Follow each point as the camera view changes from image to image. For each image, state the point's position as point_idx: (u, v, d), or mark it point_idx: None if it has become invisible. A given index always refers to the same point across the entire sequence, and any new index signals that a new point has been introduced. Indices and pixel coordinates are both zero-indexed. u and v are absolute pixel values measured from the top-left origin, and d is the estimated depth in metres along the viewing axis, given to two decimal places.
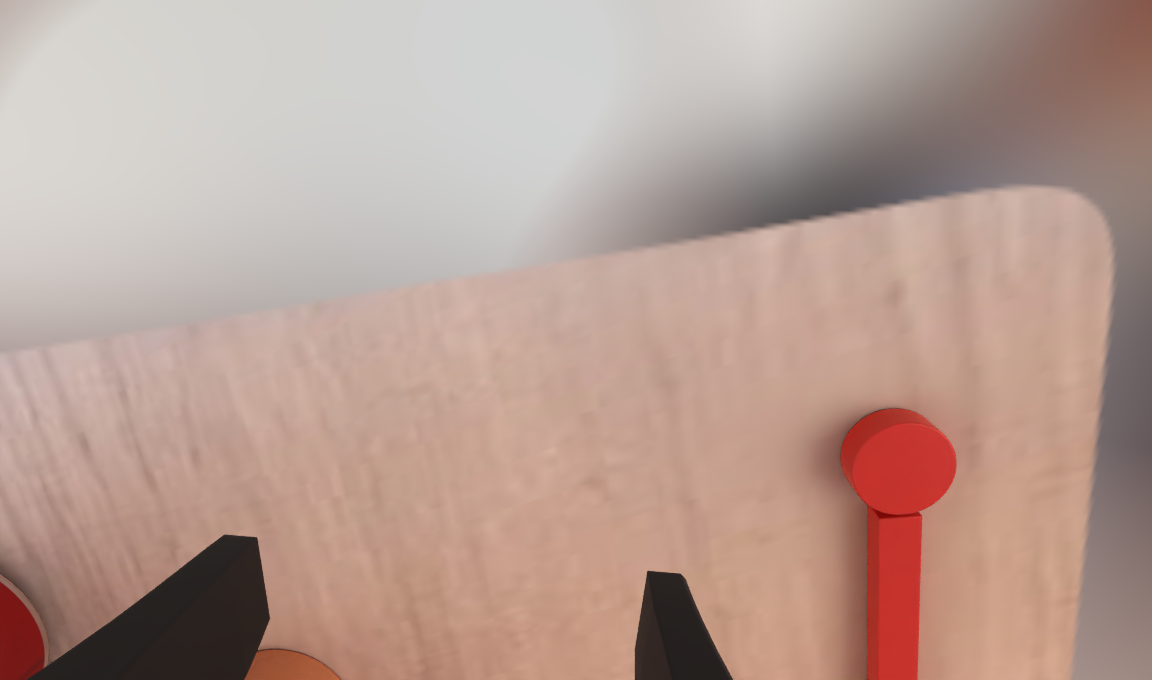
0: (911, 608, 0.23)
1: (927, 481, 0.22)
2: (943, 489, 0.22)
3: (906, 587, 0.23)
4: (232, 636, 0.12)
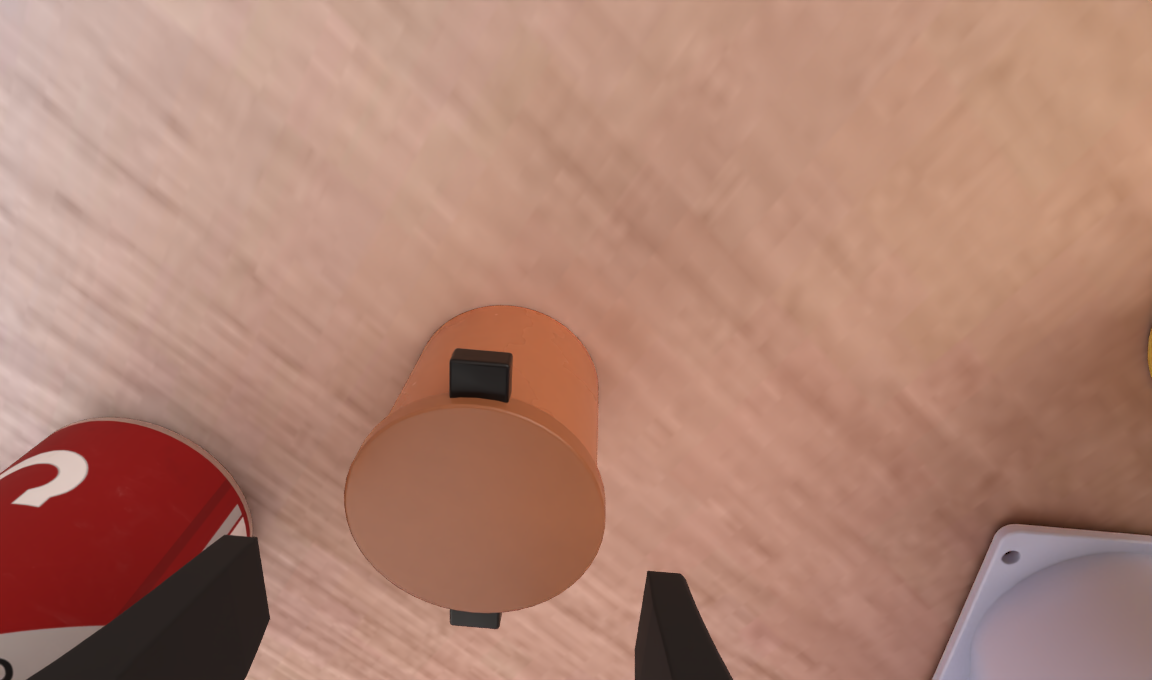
0: None
1: None
2: None
3: None
4: (231, 636, 0.12)
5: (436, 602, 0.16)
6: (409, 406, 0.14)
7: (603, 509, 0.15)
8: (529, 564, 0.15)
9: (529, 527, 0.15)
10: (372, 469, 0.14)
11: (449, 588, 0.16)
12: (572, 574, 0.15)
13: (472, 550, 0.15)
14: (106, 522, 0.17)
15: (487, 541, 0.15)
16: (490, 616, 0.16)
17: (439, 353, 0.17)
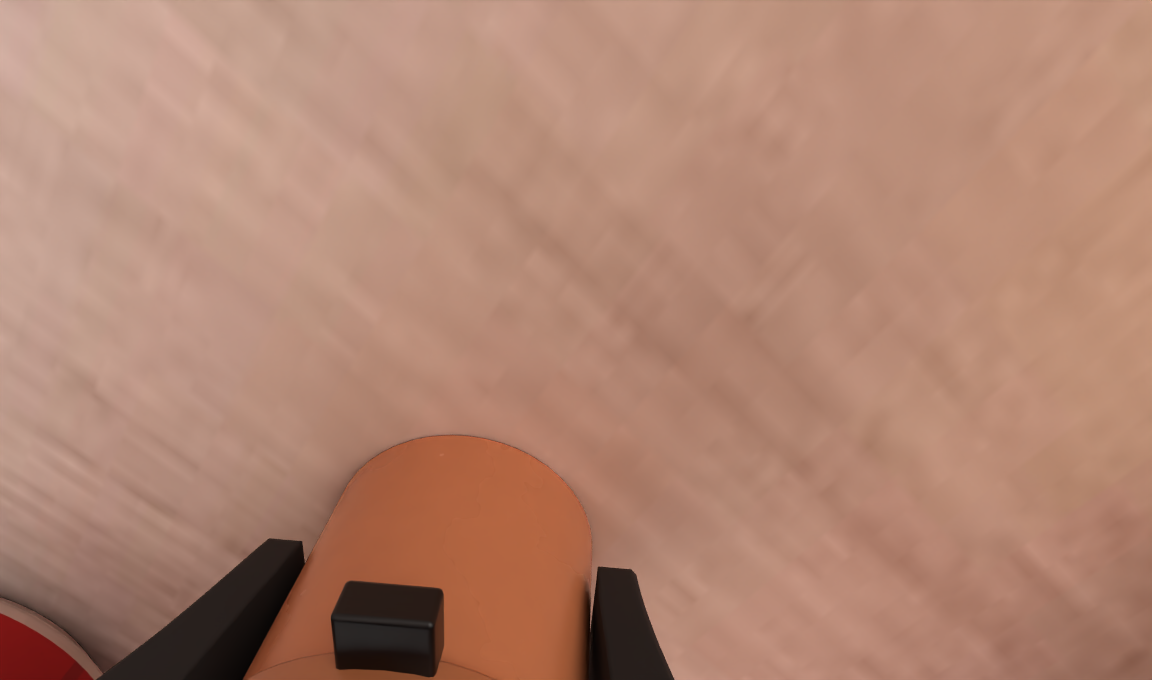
0: None
1: None
2: None
3: None
4: None
5: None
6: (270, 677, 0.08)
7: None
8: None
9: None
10: None
11: None
12: None
13: None
14: None
15: None
16: None
17: (349, 529, 0.11)
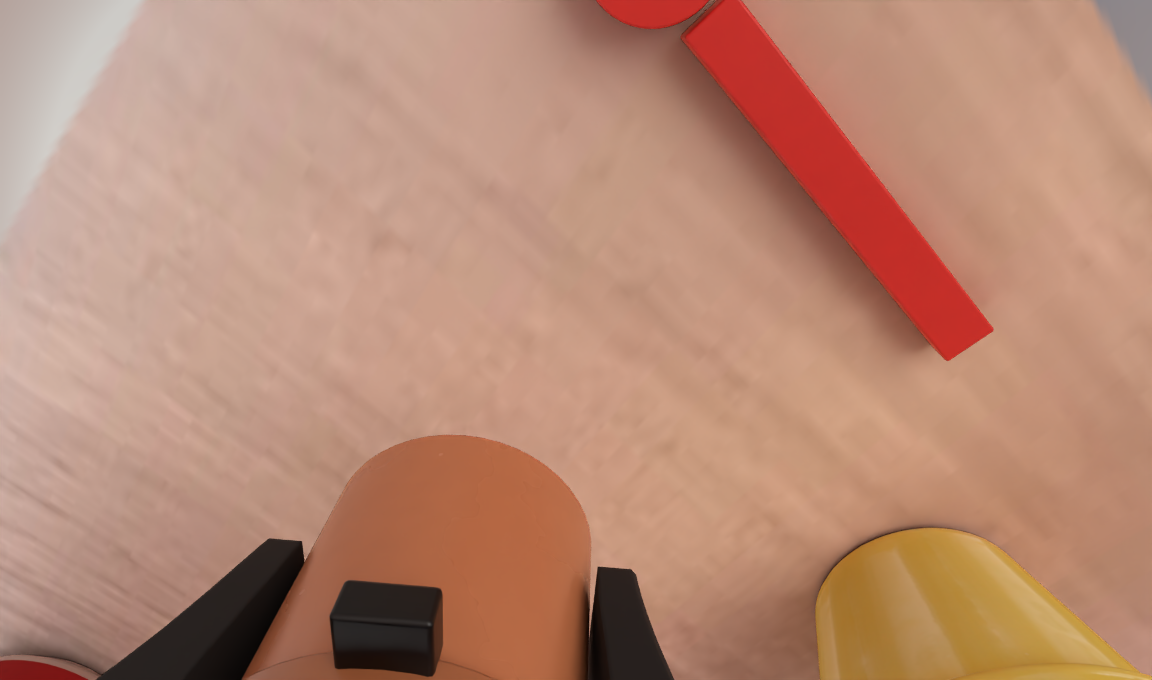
0: (818, 122, 0.16)
1: None
2: None
3: (790, 100, 0.16)
4: None
5: None
6: (269, 677, 0.08)
7: None
8: None
9: None
10: None
11: None
12: None
13: None
14: None
15: None
16: None
17: (348, 529, 0.11)
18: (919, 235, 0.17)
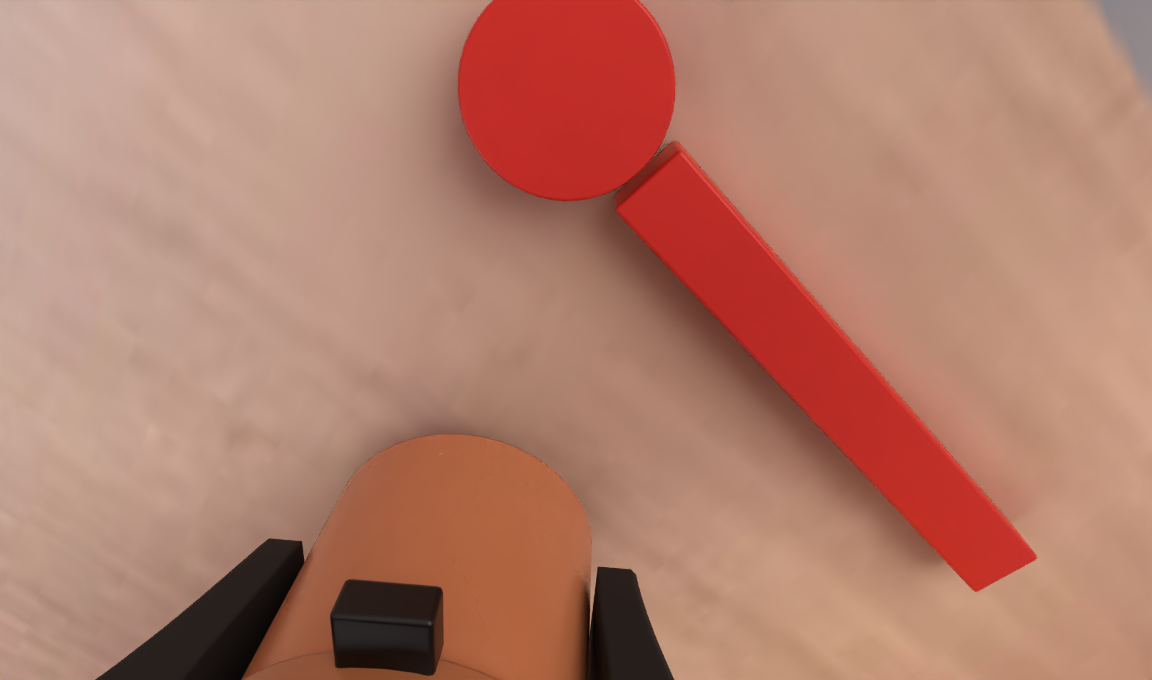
0: (803, 315, 0.12)
1: (623, 82, 0.10)
2: (664, 74, 0.10)
3: (763, 288, 0.12)
4: None
5: None
6: (269, 676, 0.08)
7: None
8: None
9: None
10: None
11: None
12: None
13: None
14: None
15: None
16: None
17: (349, 528, 0.11)
18: (940, 449, 0.13)
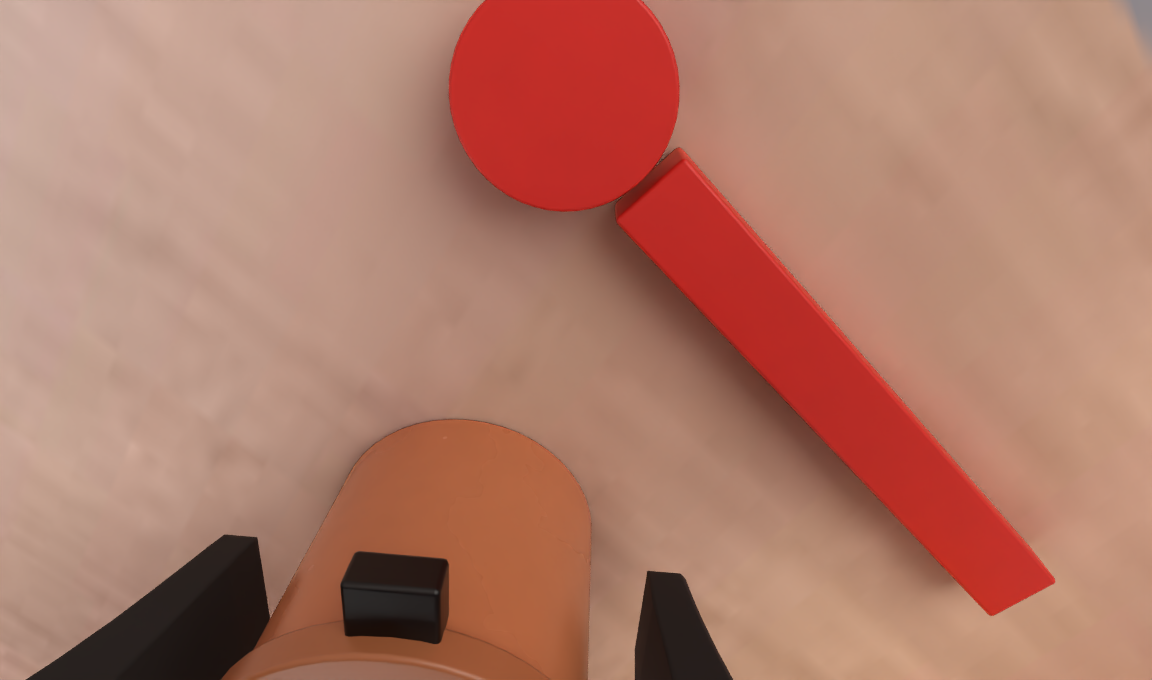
0: (813, 331, 0.11)
1: (625, 86, 0.10)
2: (668, 78, 0.09)
3: (771, 302, 0.11)
4: (232, 636, 0.12)
5: None
6: (281, 644, 0.09)
7: None
8: None
9: None
10: None
11: None
12: None
13: None
14: None
15: None
16: None
17: (355, 509, 0.11)
18: (956, 470, 0.12)
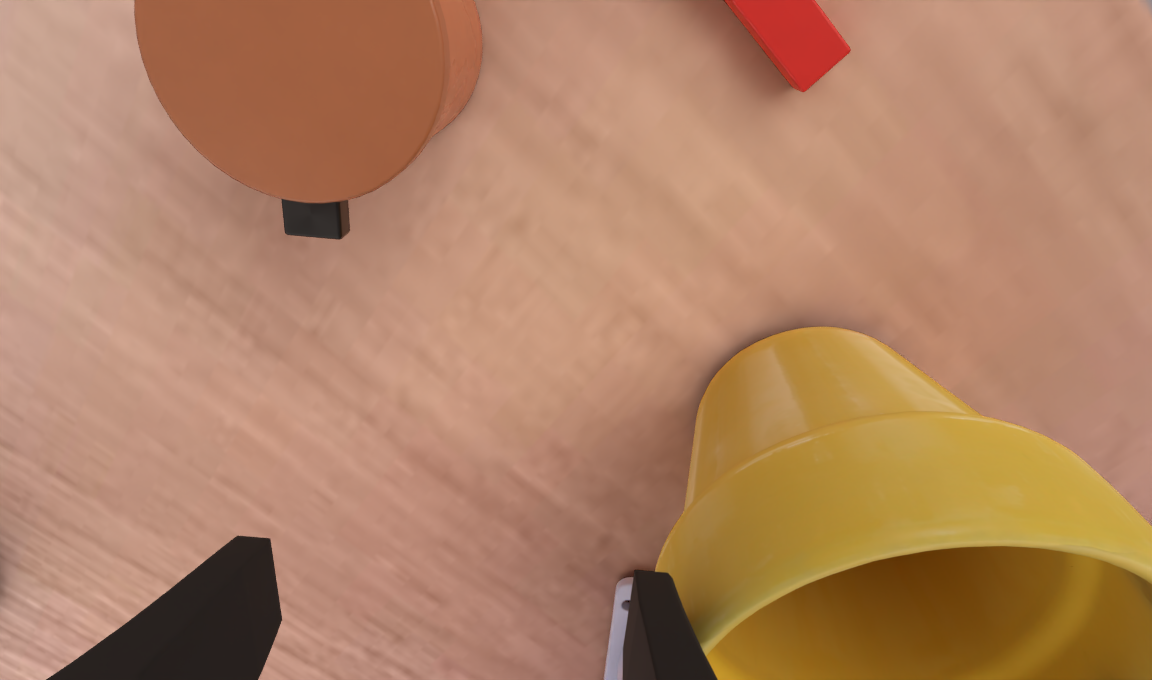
0: None
1: None
2: None
3: None
4: (246, 637, 0.12)
5: (260, 186, 0.14)
6: None
7: (440, 33, 0.12)
8: (361, 122, 0.13)
9: (356, 64, 0.13)
10: None
11: (272, 163, 0.13)
12: (413, 137, 0.13)
13: (294, 102, 0.13)
14: None
15: (309, 88, 0.13)
16: (329, 219, 0.14)
17: None
18: None
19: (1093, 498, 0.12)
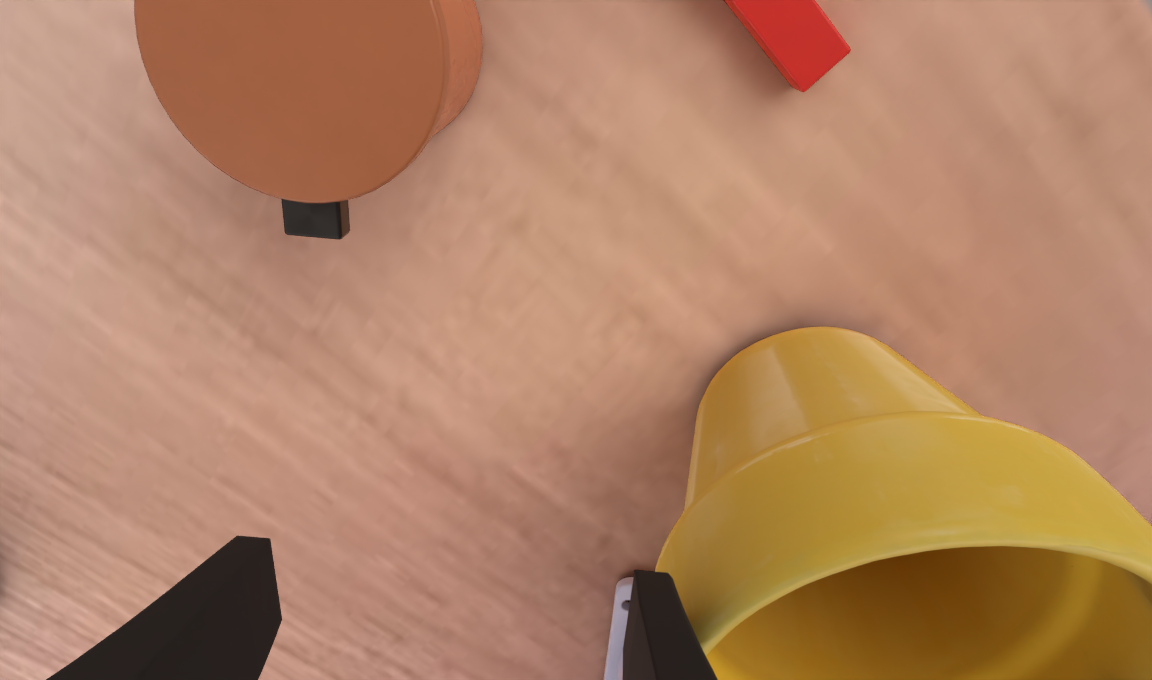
0: None
1: None
2: None
3: None
4: (246, 637, 0.12)
5: (260, 186, 0.14)
6: None
7: (440, 33, 0.12)
8: (361, 122, 0.13)
9: (356, 64, 0.13)
10: None
11: (272, 163, 0.13)
12: (413, 137, 0.13)
13: (293, 102, 0.13)
14: None
15: (309, 88, 0.13)
16: (329, 219, 0.14)
17: None
18: None
19: (1092, 497, 0.12)
